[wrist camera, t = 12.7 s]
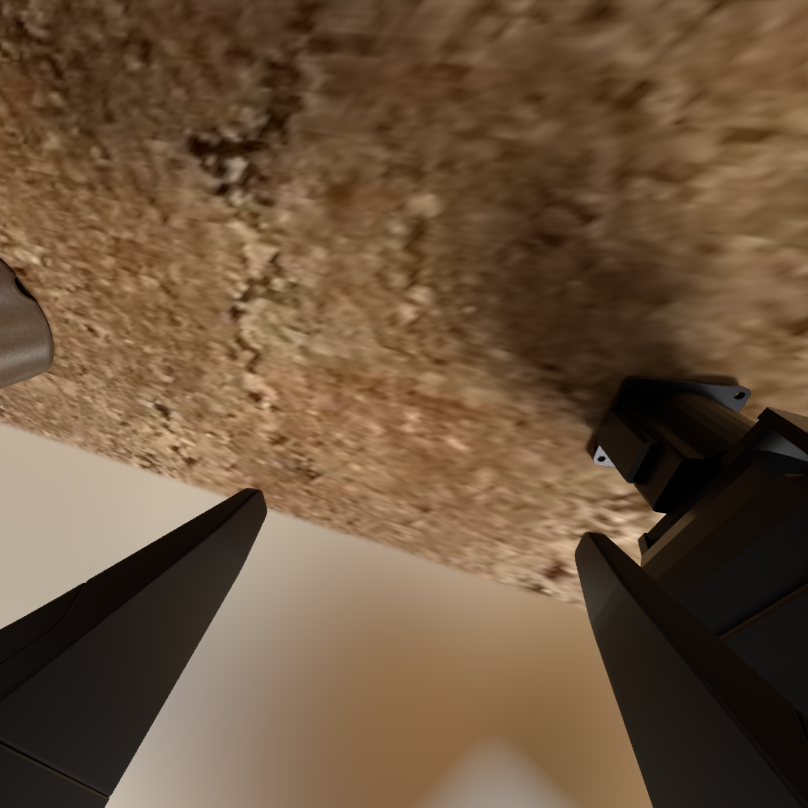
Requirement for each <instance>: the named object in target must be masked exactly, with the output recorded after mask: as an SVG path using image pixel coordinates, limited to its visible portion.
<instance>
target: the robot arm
mask: <svg viewBox="0 0 808 808" xmlns="http://www.w3.org/2000/svg"><path fill="white" fill-rule="evenodd" d="M633 382H636V384H635V385H634V386H633V387H630V385H631V384H632V383H633ZM736 393H739V394H738V395H737V396H735V397H734V395H735V394H736ZM750 395H751V391H750V390H749V389H747V388H745V387H743V386H740V385H731V384H720V383H709V382H698V381H687V380H676V379H665V378H654V377H643V376H630V377H627V378H626V379H624V381H623V382H622V384H621V387H620V389H619V391H618V394H617V396H616V398H615V401H614V403H613V405H612V407H611V408H610V409H609V410H608V412H607V414H606V417H605V419H604V421H603V424H602V426H601V429H600V431H599V433H598V436H597V438H596V442H597V443H596V445H595V447H594V450H593V452H592V454H591V458H592V460H593V461H594V462H595V463H596V464H598V465H605V466H613V467H616V468H617V470H618V471H619V472H620V474H621V475H622V477H623V478H624V479H625V481H626V482H627V483H631V484H634V486H635V487H636V488H637V490H638V491H639V492H640V493H641V495H642V496H643V497H644V499H645V500H646V501H647V503H648V504H649V505H650V506H651V508H652V509H653V510H654V511H655V512H659V513H666V515H665V516H664V517H663V518H662V519H661V520H660V521H659V522H658V523H657V524H656V525H655V526H654V527H653V528H652V529H651V530H650V531H649V532H648V533H644V534H643V535H642V536H641V537H640V538H639V539H638V543H639V547H640V551H641V556H642V559H641V567H640V566H639V565H638V564H637V563H636V562H635V561H634V560H632V559H631V558H630V557H629V556H628V555H627V554H626V553H625V552H624V551H622V550H621V549H620V548H619V547H618V546H617V545H616V544H615V543H614V542H612V541H611V540H610V539H609V538H608V537H607V536H606V535H604V534H602V533H595V532H586V533H584V534H583V536H582V538H581V540H580V542H579V544H578V547H577V549H576V551H575V562H576V566H577V570H578V574H579V578H580V583H581V587H582V591H583V595H584V599H585V603H586V608H587V612H588V616H589V620H590V623H591V627H592V630H593V633H594V636H595V639H596V642H597V645H598V648H599V651H600V653H601V656H602V660H603V663H604V666H605V668H606V671H607V674H608V677H609V680H610V683H611V686H612V689H613V692H614V695H615V698H616V701H617V704H618V706H619V709H620V712H621V715H622V718H623V721H624V724H625V727H626V730H627V733H628V736H629V739H630V742H631V744H632V747H633V750H634V753H635V756H636V759H637V762H638V765H639V768H640V771H641V774H642V777H643V780H644V783H645V785H646V788H647V791H648V794H649V797H650V800H651V803H652V806H653V808H808V417H805V416H801V415H798V414H794V413H790V412H786V411H782V410H779V409H775V408H771V407H767V408H766V409H765V410H764V411H763V412H762V413H761V414H760V415H759V416H758V417H757V418H758V419H759V421H758V422H757V423H756V422H754V421H752V420H750V419H749V418H747V417H745V416H743V415H741V414H740V413H739V412H740V411H741V409H742V408H743V406H744V405H745V403H746V402H747V400H748V399H749V397H750ZM600 456H603V457H602V458H598V457H600ZM266 515H267V506H266V503H265V499H264V495H263V492H262V491H261V490H260V489H255V488H246V489H244V490H242V491H240V492H238V493H237V494H235V495H233V496H232V497H230V498H228V499H226V500H225V501H223V502H221V503H219V504H218V505H216V506H214V507H213V508H211V509H209V510H208V511H206V512H204V513H202V514H201V515H199V516H197V517H196V518H194V519H192V520H190V521H189V522H187V523H185V524H183V525H182V526H180V527H178V528H177V529H175V530H173V531H171V532H170V533H168V534H166V535H165V536H163V537H161V538H159V539H158V540H156V541H154V542H152V543H151V544H149V545H147V546H146V547H144V548H142V549H141V550H139V551H137V552H135V553H134V554H132V555H130V556H128V557H127V558H125V559H123V560H122V561H120V562H118V563H116V564H115V565H113V566H111V567H110V568H108V569H106V570H104V571H103V572H101V573H99V574H97V575H96V576H94V577H92V578H91V579H89V580H88V581H87V582H86V583H82V584H80V585H78V586H77V587H75V588H73V589H72V590H70V591H68V592H66V593H65V594H63V595H62V596H60V597H58V598H56V599H54V600H52V601H51V602H49V603H47V604H46V605H44V606H42V607H40V608H38V609H37V610H35V611H33V612H31V613H30V614H28V615H26V616H24V617H22V618H21V619H19V620H17V621H15V622H13V623H11V624H9V625H8V626H6V627H4V628H2V629H0V808H105V806H106V804H107V802H108V800H109V796H110V795H112V793H113V791H114V790H115V788H116V786H117V784H118V783H119V781H120V779H121V778H122V776H123V774H124V772H125V771H126V769H127V767H128V765H129V764H130V762H131V760H132V758H133V757H134V755H135V753H136V752H137V750H138V748H139V746H140V745H141V743H142V741H143V739H144V738H145V736H146V734H147V732H148V731H149V729H150V727H151V726H152V724H153V722H154V720H155V719H156V717H157V715H158V713H159V712H160V710H161V708H162V706H163V705H164V703H165V701H166V700H167V698H168V696H169V694H170V693H171V691H172V689H173V687H174V686H175V684H176V682H177V680H178V679H179V677H180V675H181V673H182V672H183V670H184V668H185V667H186V665H187V663H188V661H189V660H190V658H191V656H192V654H193V653H194V651H195V649H196V647H197V646H198V644H199V642H200V641H201V639H202V637H203V635H204V633H205V632H206V630H207V628H208V627H209V625H210V623H211V622H212V620H213V618H214V616H215V615H216V613H217V611H218V609H219V608H220V606H221V604H222V602H223V601H224V599H225V597H226V596H227V594H228V592H229V590H230V589H231V587H232V585H233V583H234V582H235V580H236V578H237V576H238V574H239V573H240V571H241V569H242V567H243V565H244V563H245V561H246V559H247V557H248V554H249V552H250V550H251V548H252V546H253V544H254V542H255V539H256V537H257V535H258V533H259V531H260V529H261V526H262V524H263V522H264V520H265V517H266Z"/></svg>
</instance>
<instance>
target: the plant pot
mask: <svg viewBox="0 0 808 808" xmlns="http://www.w3.org/2000/svg"><path fill="white" fill-rule="evenodd" d="M15 277H16V276H15V274H14V273H13V272H12V271H11V270H10V269H9V268H8V267H7V266H6V265H5V264H4V263H3V262H1V261H0V389H1V388H4V387H7V386H10V385H13V384H15V383H18V382H21V381H25V380H28V379H31V378H33V377H35V376H37V375H39V374H41V373H44V372H45V371H46V370H47V369H48V368H49V366H50V364H51V362H52V358H53V342H52V338H51V333H50V330H49V327H48V324H47V322H46V319H45V317H44V315H43V313H42V311H41V310H40V308H39V306H38V304H37V303H36V302H35V301H34V300H32V299H30V298H28V297H27V296H25V295H24V294H22V293H21V292H20V290H19V289H18V288H17V286H16V284H15Z"/></svg>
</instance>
